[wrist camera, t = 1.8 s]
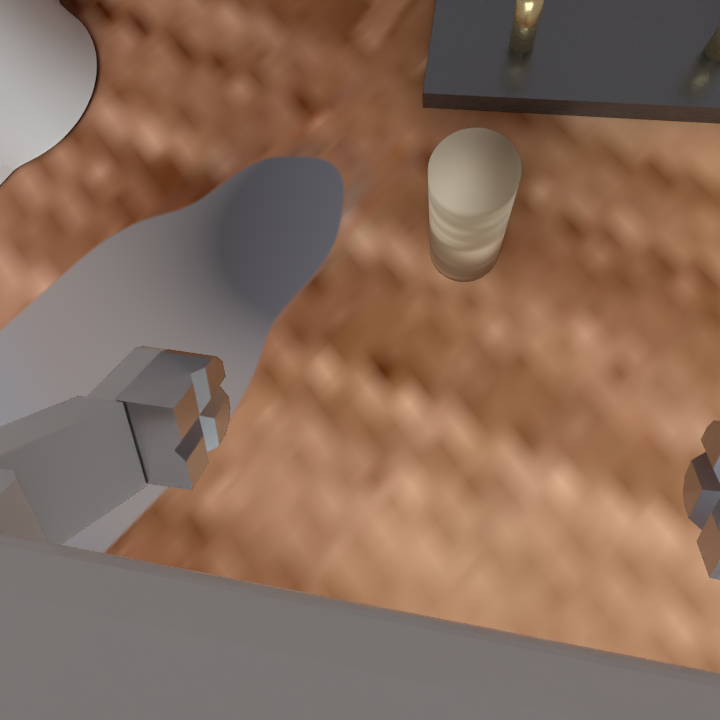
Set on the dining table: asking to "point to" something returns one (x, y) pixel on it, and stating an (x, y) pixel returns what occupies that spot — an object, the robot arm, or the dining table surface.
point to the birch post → (470, 200)
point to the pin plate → (577, 58)
